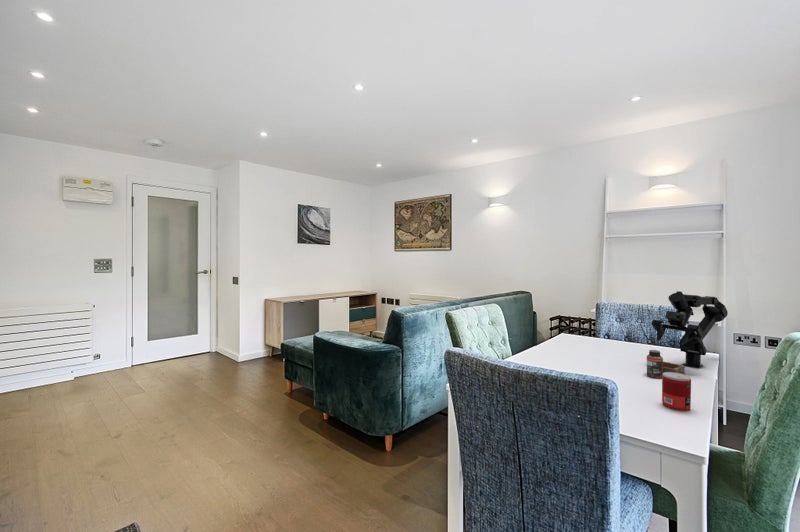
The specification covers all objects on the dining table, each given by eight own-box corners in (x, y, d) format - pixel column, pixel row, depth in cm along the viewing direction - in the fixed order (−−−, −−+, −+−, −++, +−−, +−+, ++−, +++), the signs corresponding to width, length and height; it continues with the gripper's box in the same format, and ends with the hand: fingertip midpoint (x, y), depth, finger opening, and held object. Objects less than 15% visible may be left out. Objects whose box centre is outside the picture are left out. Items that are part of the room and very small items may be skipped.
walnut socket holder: (657, 367, 173) (657, 360, 173) (684, 373, 164) (684, 365, 164) (648, 371, 167) (648, 364, 167) (675, 378, 158) (675, 370, 158)
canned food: (692, 413, 123) (692, 380, 122) (662, 408, 127) (663, 376, 127) (688, 405, 129) (689, 374, 129) (661, 400, 133) (661, 370, 133)
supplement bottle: (657, 374, 163) (657, 349, 163) (666, 379, 157) (666, 352, 157) (643, 374, 163) (643, 349, 163) (651, 378, 157) (651, 352, 157)
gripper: (653, 302, 176) (640, 327, 171) (700, 307, 160) (687, 335, 155) (661, 317, 180) (649, 342, 175) (708, 323, 164) (695, 351, 159)
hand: (669, 342), depth 166 cm, fingers open, 9 cm apart
